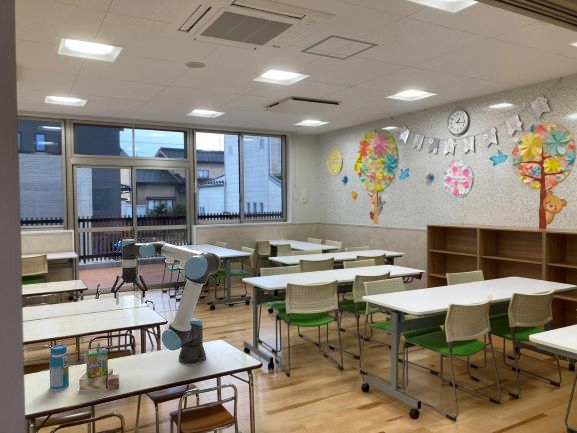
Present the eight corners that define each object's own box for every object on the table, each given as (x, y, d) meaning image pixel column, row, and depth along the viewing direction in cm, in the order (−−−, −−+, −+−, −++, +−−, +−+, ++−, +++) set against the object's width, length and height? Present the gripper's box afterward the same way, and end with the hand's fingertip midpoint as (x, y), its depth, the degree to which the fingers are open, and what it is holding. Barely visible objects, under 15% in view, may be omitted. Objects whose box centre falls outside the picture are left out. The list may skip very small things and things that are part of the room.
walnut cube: (118, 384, 215) (118, 374, 214) (119, 388, 210) (119, 378, 210) (107, 385, 213) (107, 375, 213) (107, 389, 208) (107, 379, 208)
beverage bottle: (51, 392, 206) (50, 350, 206) (48, 386, 213) (47, 346, 213) (70, 388, 211) (70, 347, 211) (67, 382, 218) (66, 342, 218)
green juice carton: (86, 372, 217) (85, 342, 217) (106, 369, 221) (105, 339, 221) (87, 379, 209) (87, 348, 209) (108, 375, 213) (107, 345, 213)
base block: (113, 378, 222) (112, 368, 222) (105, 388, 210) (105, 378, 210) (88, 379, 220) (87, 369, 220) (79, 389, 209) (79, 379, 208)
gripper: (153, 265, 254) (153, 301, 255) (108, 266, 252) (109, 303, 252) (150, 267, 247) (151, 304, 248) (104, 268, 244) (105, 306, 245)
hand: (129, 303), depth 250 cm, fingers open, 13 cm apart
